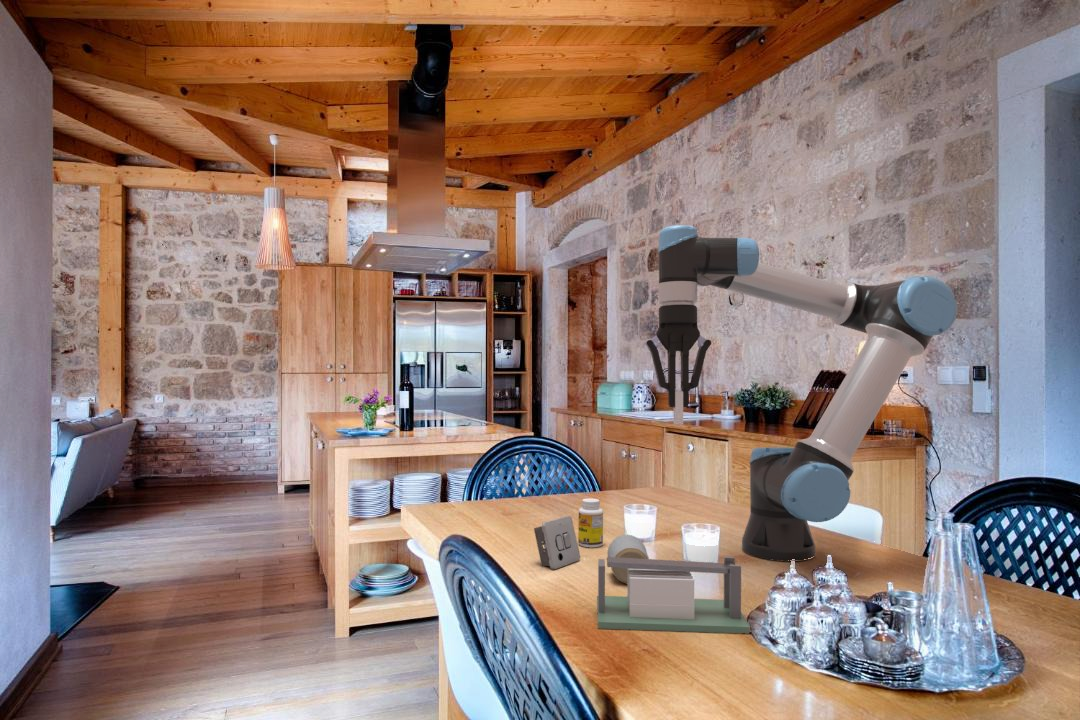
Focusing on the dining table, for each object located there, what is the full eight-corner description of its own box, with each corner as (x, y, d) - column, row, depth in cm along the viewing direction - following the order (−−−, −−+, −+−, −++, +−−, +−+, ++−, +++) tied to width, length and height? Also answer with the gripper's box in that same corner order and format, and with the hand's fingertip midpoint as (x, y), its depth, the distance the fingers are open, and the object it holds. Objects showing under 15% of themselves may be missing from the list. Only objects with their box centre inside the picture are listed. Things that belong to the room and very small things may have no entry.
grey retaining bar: (735, 571, 109) (735, 561, 109) (739, 576, 106) (739, 566, 106) (606, 564, 111) (607, 554, 111) (607, 569, 108) (607, 559, 108)
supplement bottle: (574, 543, 154) (574, 498, 154) (595, 541, 156) (596, 496, 156) (585, 549, 149) (585, 503, 149) (607, 547, 151) (607, 501, 151)
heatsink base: (733, 605, 114) (733, 551, 114) (750, 633, 102) (750, 572, 102) (597, 601, 115) (597, 547, 115) (598, 628, 103) (598, 568, 104)
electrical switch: (553, 571, 133) (550, 523, 133) (533, 568, 136) (530, 522, 137) (581, 561, 140) (578, 515, 141) (561, 559, 143) (558, 514, 144)
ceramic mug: (611, 586, 124) (612, 544, 124) (606, 572, 132) (607, 533, 132) (669, 587, 124) (670, 545, 124) (660, 574, 132) (661, 534, 132)
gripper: (707, 306, 137) (708, 422, 136) (643, 307, 137) (643, 422, 137) (715, 303, 129) (715, 425, 129) (646, 303, 130) (647, 425, 130)
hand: (678, 423), depth 133 cm, fingers closed
